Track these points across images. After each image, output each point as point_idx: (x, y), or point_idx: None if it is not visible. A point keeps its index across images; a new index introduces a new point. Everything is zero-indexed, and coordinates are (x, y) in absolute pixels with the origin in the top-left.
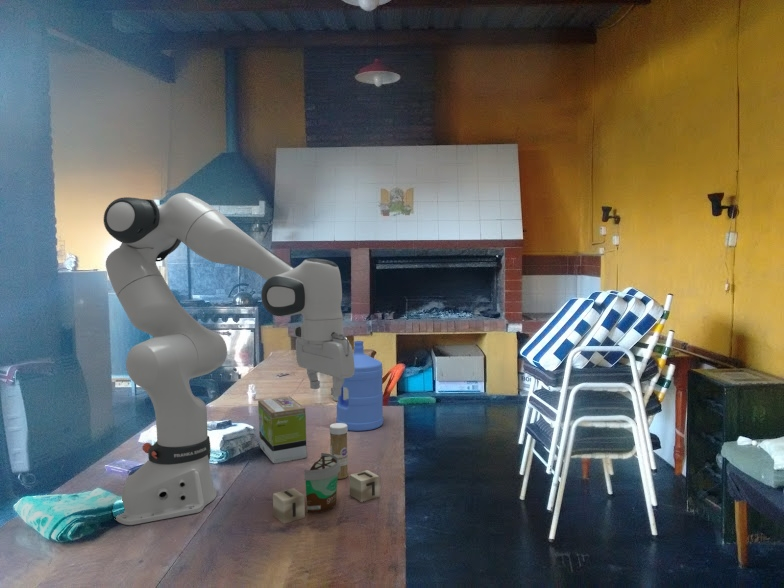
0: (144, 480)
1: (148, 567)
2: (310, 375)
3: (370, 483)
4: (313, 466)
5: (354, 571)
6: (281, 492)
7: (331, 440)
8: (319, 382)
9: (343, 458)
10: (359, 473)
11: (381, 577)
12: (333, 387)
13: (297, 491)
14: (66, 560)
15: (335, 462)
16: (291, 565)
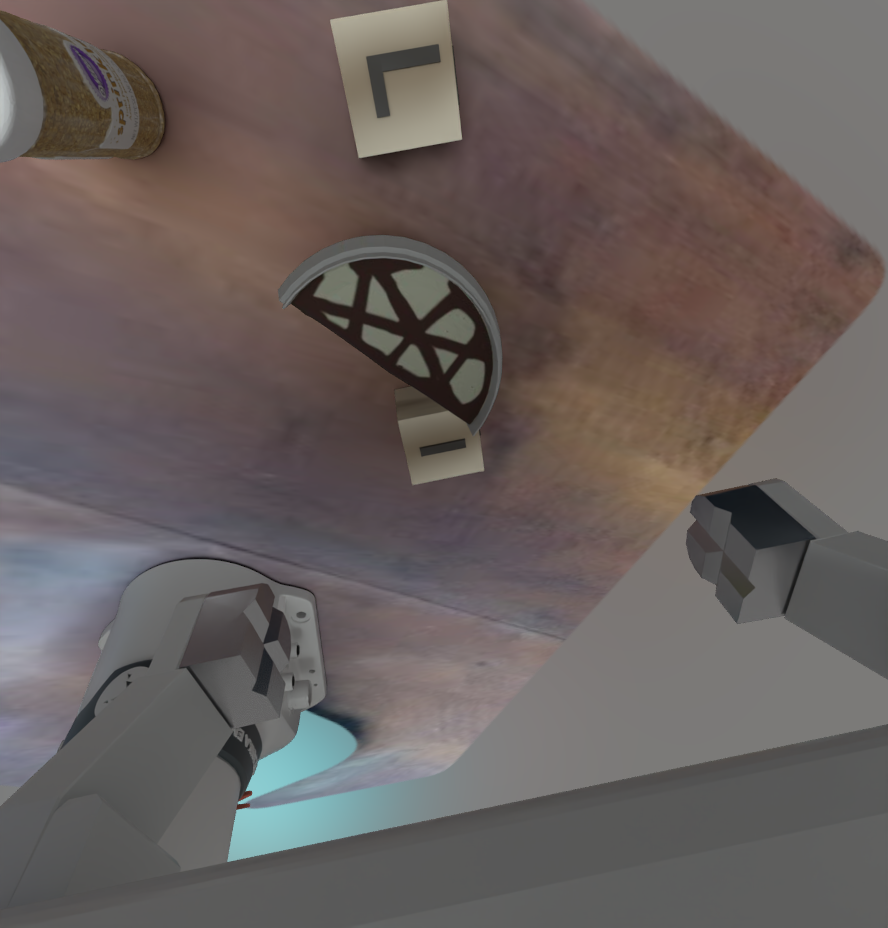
0: (271, 752)
1: (510, 654)
2: (160, 816)
3: (456, 78)
4: (416, 381)
5: (787, 349)
6: (416, 462)
7: (32, 156)
8: (245, 639)
9: (115, 87)
10: (374, 102)
11: (855, 301)
12: (818, 625)
13: (434, 417)
14: (419, 736)
15: (404, 267)
16: (666, 461)
